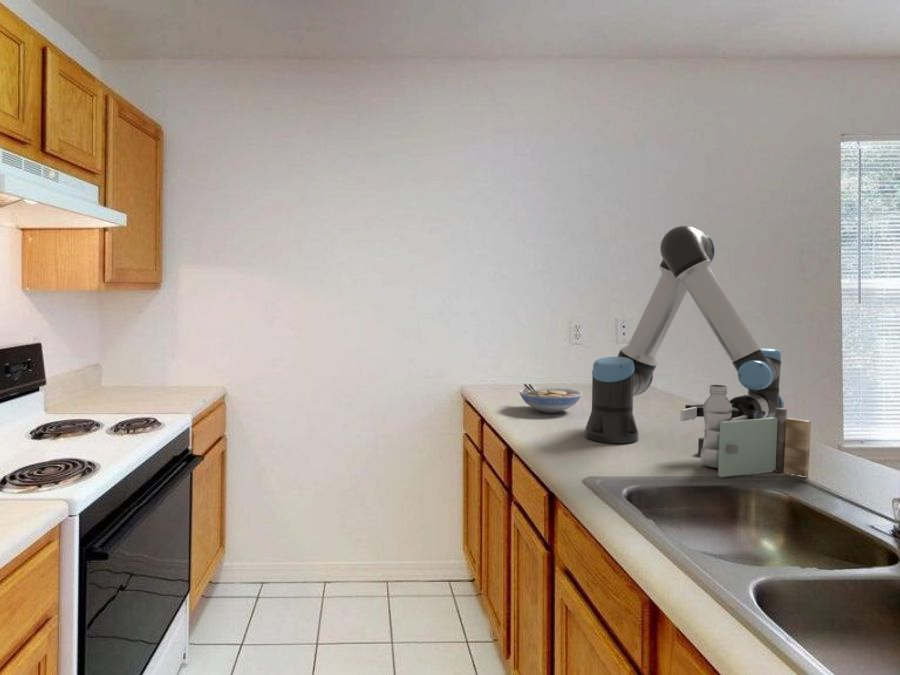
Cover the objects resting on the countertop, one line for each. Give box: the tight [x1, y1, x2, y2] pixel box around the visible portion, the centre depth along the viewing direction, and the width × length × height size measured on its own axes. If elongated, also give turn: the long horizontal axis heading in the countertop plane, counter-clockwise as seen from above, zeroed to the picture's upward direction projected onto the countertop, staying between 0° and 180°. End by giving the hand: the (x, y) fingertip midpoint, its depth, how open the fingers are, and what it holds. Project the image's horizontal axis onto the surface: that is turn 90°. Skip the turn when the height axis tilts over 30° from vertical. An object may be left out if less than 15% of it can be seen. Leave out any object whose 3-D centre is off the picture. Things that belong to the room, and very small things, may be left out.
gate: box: [717, 417, 778, 478], centre depth 132 cm, size 16×3×12 cm, turn 110°
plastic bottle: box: [700, 384, 733, 469], centre depth 139 cm, size 6×7×20 cm
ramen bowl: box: [518, 383, 583, 414], centre depth 208 cm, size 25×23×8 cm
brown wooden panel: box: [697, 408, 812, 477], centre depth 142 cm, size 26×5×15 cm, turn 41°
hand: (706, 419), depth 137 cm, fingers open, 12 cm apart
